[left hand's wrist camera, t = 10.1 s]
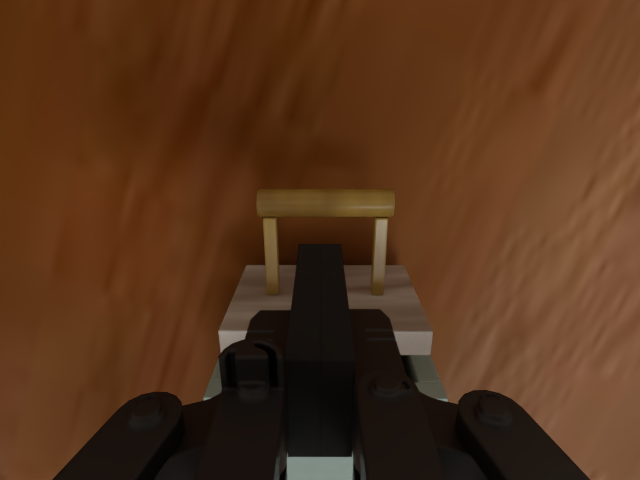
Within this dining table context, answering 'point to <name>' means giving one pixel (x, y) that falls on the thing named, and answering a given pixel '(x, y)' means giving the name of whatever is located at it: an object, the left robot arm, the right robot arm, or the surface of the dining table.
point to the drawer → (361, 280)
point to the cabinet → (337, 472)
